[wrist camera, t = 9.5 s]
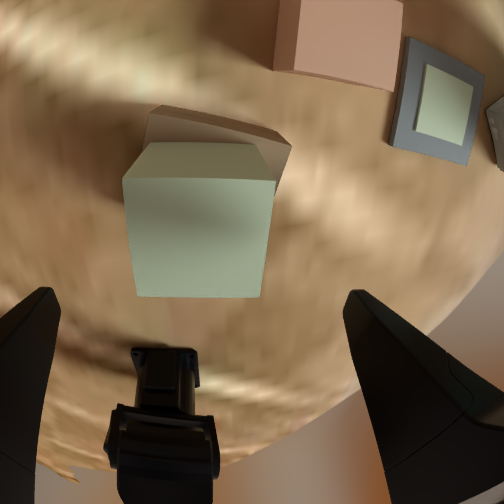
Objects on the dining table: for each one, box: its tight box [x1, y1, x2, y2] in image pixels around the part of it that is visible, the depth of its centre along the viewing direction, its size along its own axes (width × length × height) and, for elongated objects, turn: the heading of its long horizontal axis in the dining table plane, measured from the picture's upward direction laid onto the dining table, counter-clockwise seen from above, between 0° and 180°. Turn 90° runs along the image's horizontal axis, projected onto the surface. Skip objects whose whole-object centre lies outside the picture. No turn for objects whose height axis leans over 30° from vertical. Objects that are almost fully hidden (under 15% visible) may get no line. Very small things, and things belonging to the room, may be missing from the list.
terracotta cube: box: [272, 0, 403, 92], centre depth 12 cm, size 5×5×5 cm
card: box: [388, 37, 485, 166], centre depth 16 cm, size 8×8×1 cm
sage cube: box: [122, 142, 276, 298], centre depth 13 cm, size 5×5×5 cm
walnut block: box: [141, 105, 292, 196], centre depth 16 cm, size 7×7×4 cm
